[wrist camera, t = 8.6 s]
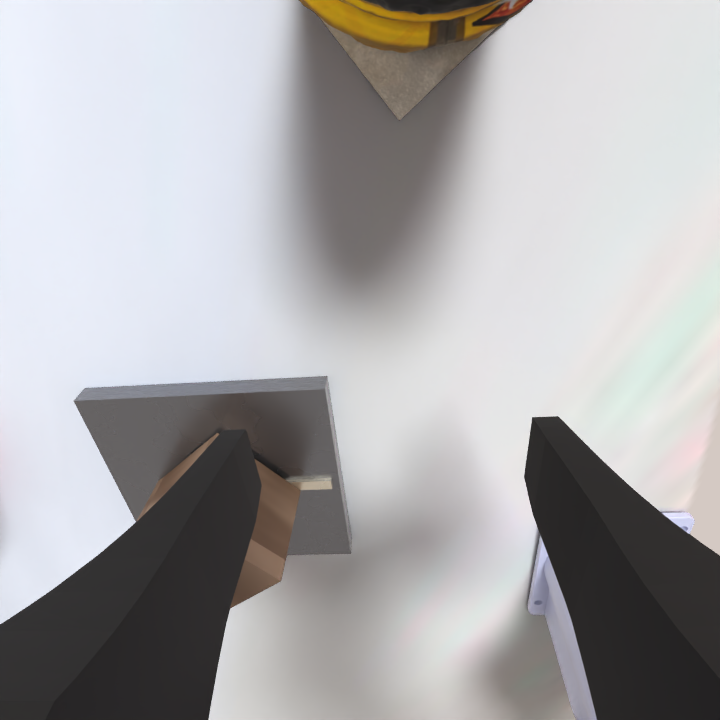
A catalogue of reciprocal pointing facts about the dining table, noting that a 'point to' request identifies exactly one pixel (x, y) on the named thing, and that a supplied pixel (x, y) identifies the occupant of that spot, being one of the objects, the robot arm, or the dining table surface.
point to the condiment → (410, 39)
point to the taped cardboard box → (269, 528)
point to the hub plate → (213, 415)
